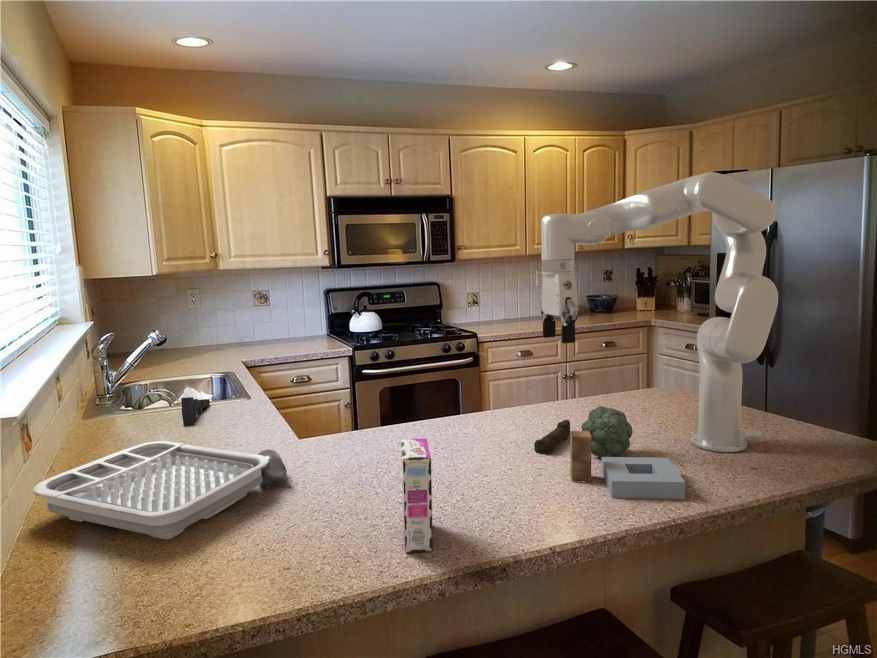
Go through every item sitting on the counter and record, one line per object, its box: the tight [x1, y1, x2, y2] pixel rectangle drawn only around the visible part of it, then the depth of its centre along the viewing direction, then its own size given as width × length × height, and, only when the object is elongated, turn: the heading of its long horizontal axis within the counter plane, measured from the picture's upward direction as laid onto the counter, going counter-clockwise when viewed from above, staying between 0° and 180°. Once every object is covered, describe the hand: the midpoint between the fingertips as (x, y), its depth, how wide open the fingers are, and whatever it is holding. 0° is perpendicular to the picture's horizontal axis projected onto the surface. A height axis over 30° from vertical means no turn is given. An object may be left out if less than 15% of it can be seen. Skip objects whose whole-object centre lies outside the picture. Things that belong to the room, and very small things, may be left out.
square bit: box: [569, 430, 592, 483], centre depth 131 cm, size 4×4×10 cm
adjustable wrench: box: [181, 396, 211, 427], centre depth 194 cm, size 8×3×25 cm
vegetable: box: [580, 406, 633, 460], centre depth 147 cm, size 12×13×15 cm
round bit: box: [257, 449, 288, 489], centre depth 136 cm, size 6×6×8 cm
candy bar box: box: [400, 438, 434, 554], centre depth 106 cm, size 11×5×16 cm, turn 5°
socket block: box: [601, 456, 686, 500], centre depth 127 cm, size 14×14×4 cm
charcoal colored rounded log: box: [534, 419, 571, 456], centre depth 155 cm, size 19×4×5 cm, turn 145°
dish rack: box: [32, 440, 269, 540], centre depth 124 cm, size 32×37×8 cm
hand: (558, 339), depth 145 cm, fingers open, 9 cm apart
